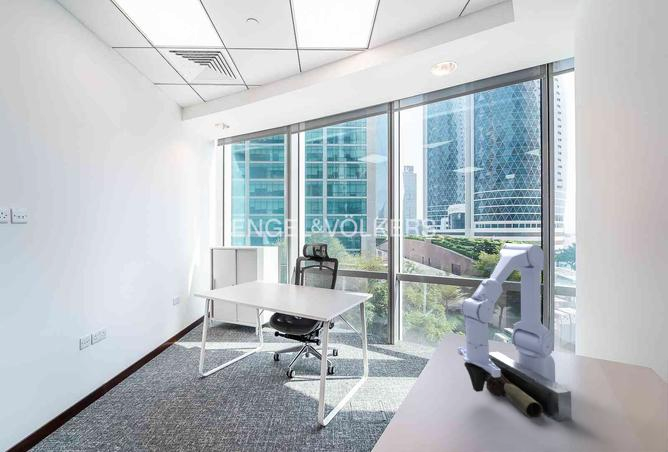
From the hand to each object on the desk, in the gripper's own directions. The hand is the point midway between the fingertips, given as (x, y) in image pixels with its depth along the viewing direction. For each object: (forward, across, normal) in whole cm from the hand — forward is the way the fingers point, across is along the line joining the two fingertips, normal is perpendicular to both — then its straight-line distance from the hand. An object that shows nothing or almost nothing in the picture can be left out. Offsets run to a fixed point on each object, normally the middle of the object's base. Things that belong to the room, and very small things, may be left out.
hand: (478, 390), depth 79 cm
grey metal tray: (+3, 0, +16) cm, 16 cm away
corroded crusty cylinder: (+3, +1, +9) cm, 9 cm away
